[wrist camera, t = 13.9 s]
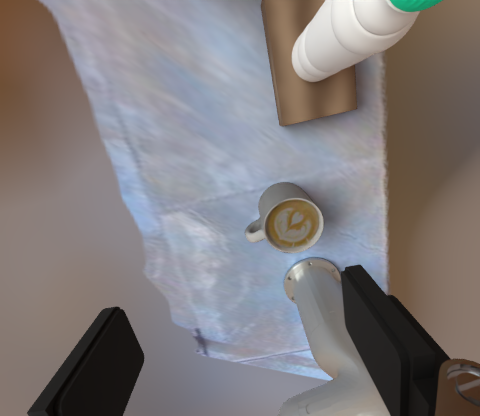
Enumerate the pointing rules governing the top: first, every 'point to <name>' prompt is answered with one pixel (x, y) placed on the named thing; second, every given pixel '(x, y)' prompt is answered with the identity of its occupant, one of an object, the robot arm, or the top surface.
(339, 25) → the water bottle
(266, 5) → the walnut stand
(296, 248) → the coffee mug
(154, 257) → the top surface
